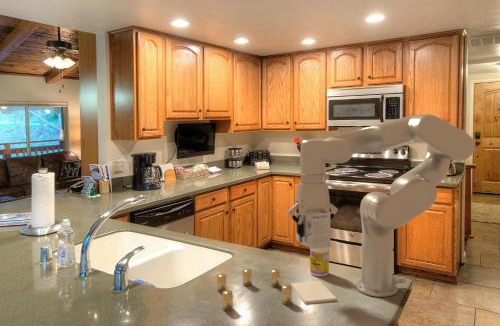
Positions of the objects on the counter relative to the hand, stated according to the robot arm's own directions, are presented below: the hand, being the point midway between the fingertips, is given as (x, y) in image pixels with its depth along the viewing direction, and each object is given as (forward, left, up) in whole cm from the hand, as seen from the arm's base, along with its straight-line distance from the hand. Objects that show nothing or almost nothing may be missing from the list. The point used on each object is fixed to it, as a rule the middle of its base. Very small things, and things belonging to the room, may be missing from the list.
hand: (312, 234), depth 127 cm
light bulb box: (0, 0, -3) cm, 3 cm away
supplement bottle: (-8, -15, -19) cm, 26 cm away
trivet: (0, 0, -19) cm, 19 cm away
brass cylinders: (+19, -3, -19) cm, 27 cm away
